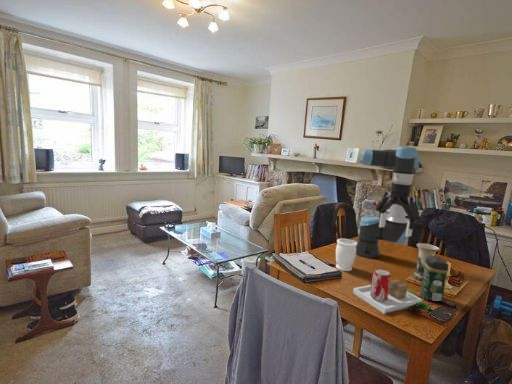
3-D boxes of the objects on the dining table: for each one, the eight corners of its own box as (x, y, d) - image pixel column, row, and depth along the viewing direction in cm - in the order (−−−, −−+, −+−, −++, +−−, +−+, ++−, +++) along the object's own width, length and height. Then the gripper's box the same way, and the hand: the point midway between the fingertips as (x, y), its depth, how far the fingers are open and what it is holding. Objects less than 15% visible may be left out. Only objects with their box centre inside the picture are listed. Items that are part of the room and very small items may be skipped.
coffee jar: (418, 290, 133) (424, 252, 130) (437, 294, 131) (444, 255, 128) (423, 300, 124) (430, 260, 121) (444, 304, 122) (452, 263, 119)
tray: (387, 285, 136) (388, 281, 136) (421, 304, 121) (422, 299, 121) (352, 292, 127) (353, 288, 126) (384, 314, 112) (385, 308, 111)
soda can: (385, 304, 117) (389, 277, 115) (367, 298, 121) (371, 272, 119) (389, 297, 123) (393, 271, 121) (371, 292, 127) (375, 266, 125)
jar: (355, 273, 147) (358, 245, 145) (334, 270, 149) (337, 243, 147) (352, 265, 157) (355, 239, 155) (333, 262, 159) (336, 237, 157)
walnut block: (387, 293, 126) (389, 281, 125) (395, 292, 128) (397, 279, 127) (397, 299, 122) (399, 286, 121) (405, 297, 124) (407, 284, 123)
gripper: (372, 179, 131) (366, 224, 134) (423, 188, 109) (414, 241, 112) (383, 179, 134) (377, 223, 137) (436, 188, 112) (427, 239, 115)
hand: (394, 231), depth 125 cm, fingers open, 13 cm apart
